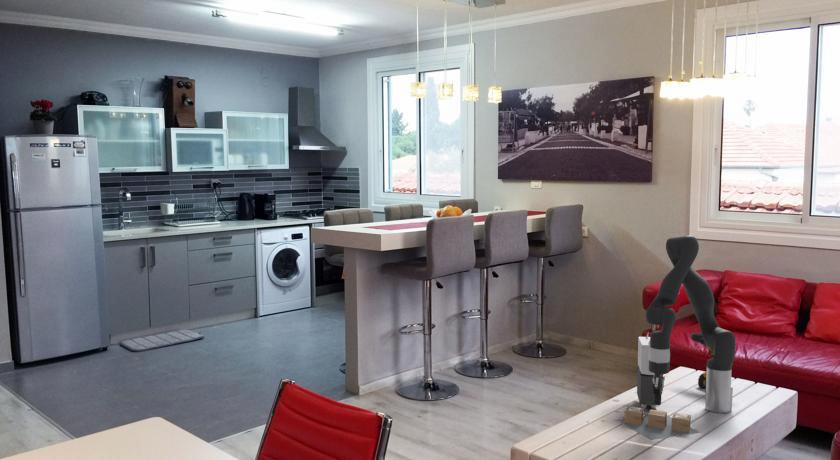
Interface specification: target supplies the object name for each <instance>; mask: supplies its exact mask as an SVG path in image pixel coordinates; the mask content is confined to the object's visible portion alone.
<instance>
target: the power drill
mask: <svg viewBox="0 0 840 460" xmlns="http://www.w3.org/2000/svg"><path fill="white" fill-rule="evenodd" d="M689 337H690V338H691V339H692V341H693V342H696V343H699V344H701V345H703V346H705V347H706V349H707V350H708V355H709V356H712V358H714V352H715V350H713V349H711V348H709V347H708V346H707V345H706V344H705V342H704V339H703V336H702V333H701V332H694V333H692V334H690V335H689ZM706 377H707V370H706V371H704V372H703V373H701V374H700V375H699V376H698V379H697V384H698V385H697V386H698V388H701V389H705V390H706Z"/></svg>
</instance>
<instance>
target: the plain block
mask: <svg viewBox="0 0 840 460" xmlns="http://www.w3.org/2000/svg"><path fill="white" fill-rule="evenodd" d="M647 415H648V427H650V428H657V429H663V430H665V427H666V425H667V416H668V411H664V410H658V409H650V410H649V412H648V414H647Z"/></svg>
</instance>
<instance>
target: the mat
mask: <svg viewBox="0 0 840 460" xmlns="http://www.w3.org/2000/svg"><path fill="white" fill-rule="evenodd" d="M615 421H617V422H618V423H620V424H622V425H624V426H625V427H627V428H628V429H631V430H633V431H634V432H636V433H638V434H639V435H642V436H643V437H645V438H648V439H649V440H651V441H652V440H659V439H668V438H675V437H681V436H686V435H687V436H688V435H693V434H701V433H702V432H701V431H699V430H697V429H695V428H693V427H691V426H690V431H689V433H683V432H676V431H672V416H669V415H667V425H666V427H665V430H663V429H657V428H650V427H648V414H647V415H644V421H643V423H642V425H641V426H637V425H631V424H625V417H624V418H623V417H622V418H617V419H615Z"/></svg>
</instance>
